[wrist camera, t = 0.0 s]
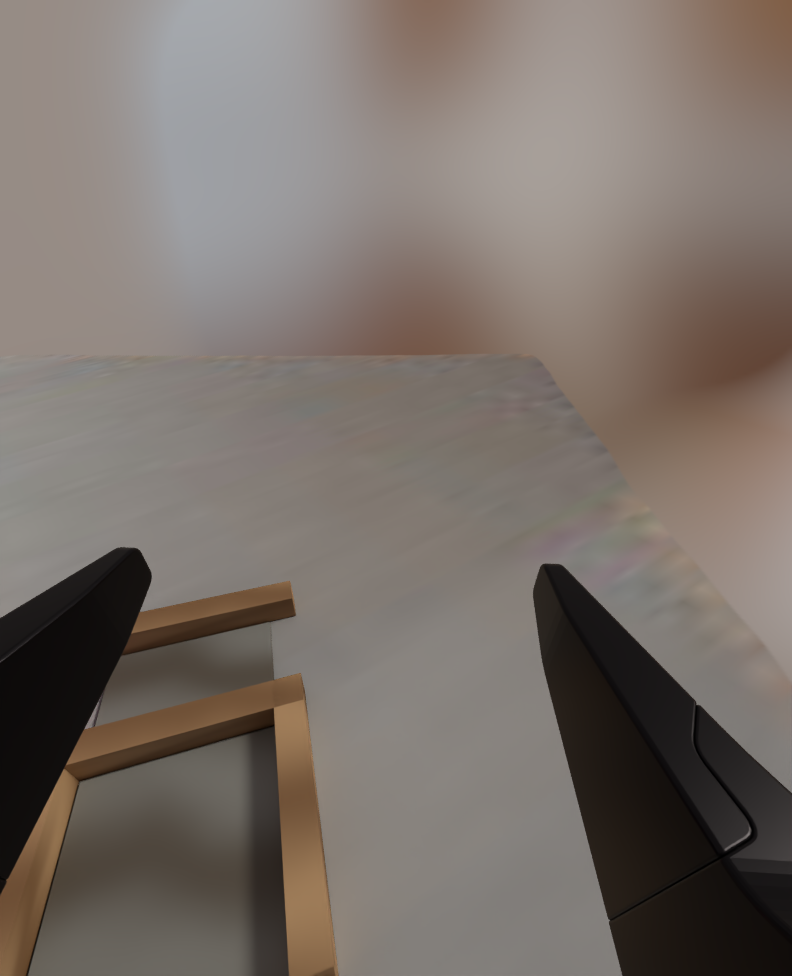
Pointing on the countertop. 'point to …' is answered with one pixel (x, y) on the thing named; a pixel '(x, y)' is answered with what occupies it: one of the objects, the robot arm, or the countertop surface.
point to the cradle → (182, 815)
